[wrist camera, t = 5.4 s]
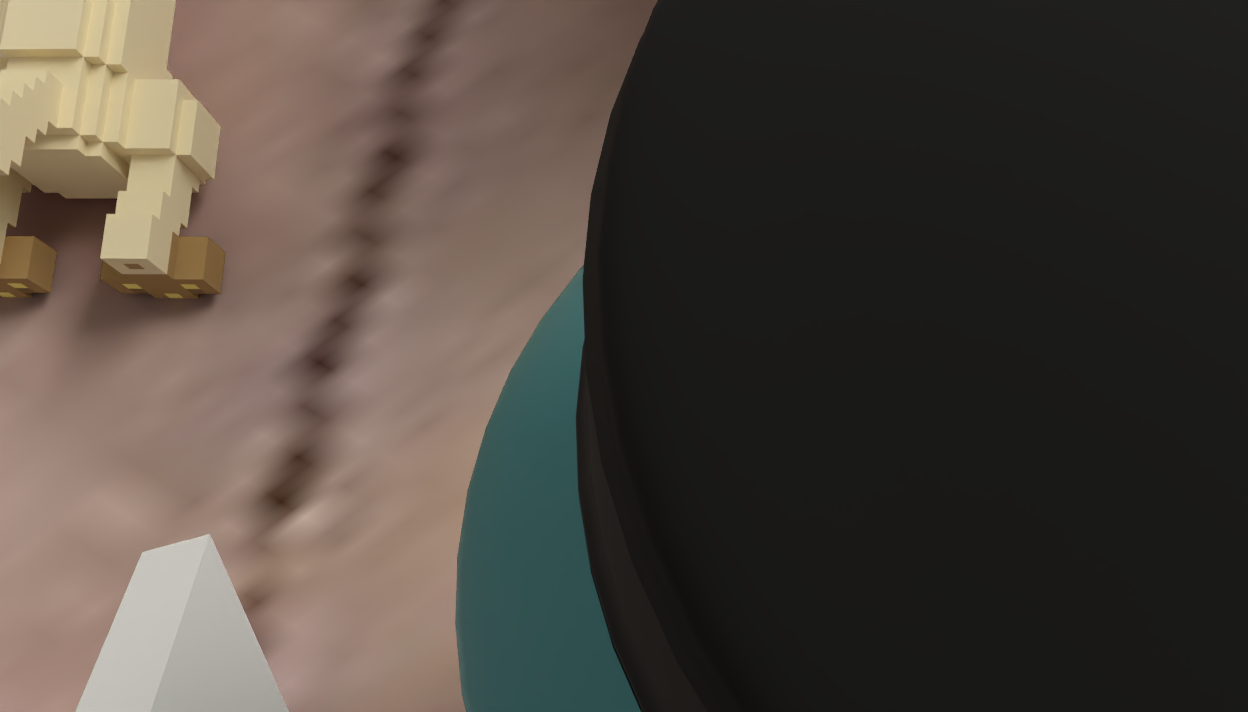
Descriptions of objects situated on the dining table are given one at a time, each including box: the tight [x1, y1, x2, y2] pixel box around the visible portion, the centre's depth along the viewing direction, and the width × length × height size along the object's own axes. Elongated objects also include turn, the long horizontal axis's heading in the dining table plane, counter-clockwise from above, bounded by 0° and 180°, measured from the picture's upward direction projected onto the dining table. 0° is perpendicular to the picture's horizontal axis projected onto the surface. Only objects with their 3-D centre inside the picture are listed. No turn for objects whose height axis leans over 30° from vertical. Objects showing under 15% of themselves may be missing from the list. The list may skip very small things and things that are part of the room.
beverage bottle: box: [456, 0, 1248, 712], centre depth 12 cm, size 6×7×20 cm
